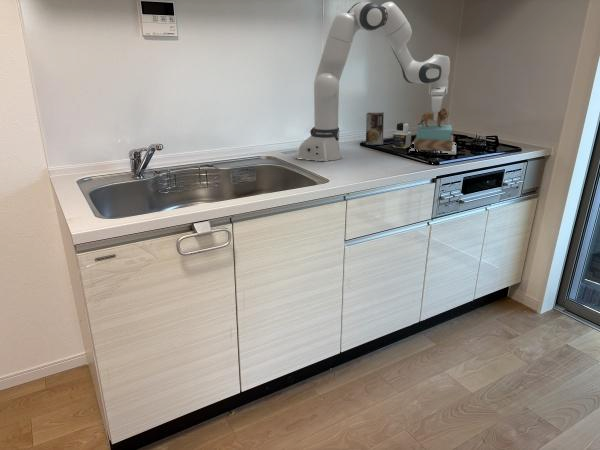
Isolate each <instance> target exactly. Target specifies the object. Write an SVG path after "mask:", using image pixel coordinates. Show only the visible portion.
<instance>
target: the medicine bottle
mask: <svg viewBox="0 0 600 450" xmlns="http://www.w3.org/2000/svg"><path fill="white" fill-rule="evenodd" d="M409 128H410V125H409V123H406V122H399V123H397V124H396V132H393V135H392V147H393V148H397V149H407V148H410V147H411V145H412V143H411V142H412V132H411V131H409V130H410V129H409Z"/></svg>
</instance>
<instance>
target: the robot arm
mask: <svg viewBox="0 0 600 450" xmlns="http://www.w3.org/2000/svg"><path fill="white" fill-rule="evenodd" d="M377 29H380V30H381V31H382V33H383V34H384V36H385V38H386V39H387V41H388V42H389V45H390V48H391V51H392V53H393V55H394V56H395V58H396V59H397V61H398V64H399V65H400V68H401V72H402V76H403V78H404V80H405V81H406V82H407V83H409V84H421V85H423V84H424V85H427V84H428V94H429V95H430V97H431V113H432V112H433V114H434V119H433V120H434V121H433V122H437V117H438V112H440V111H441V110H442V109H441V108H442V103H443V100H444V99H443V98H445V97H446V96H445V95H447V94H448V92H449V76H450V72H451V71H450V70H451V59H450V57H449V56H448V54H442V53H435V54H433V55H432V57H430V58H429V59H427V60H424V61H417V60H415V59H414V58H413V57H412V55H411V53H410V51H409V49H408V46H407V44H408V42H409V41H410V39H411V38H412V34H413V31H412V27H411V24H410V22H409V21H408V19H407V17H406V16H405V14H404V13H403V11H402V10H401V9H400V8H399V7H398V6H397V5H396V3H395V2H393V1H386V2H384V3H382V4H378V3H376V2H371V1H358V2H357V3H354V4H353V5H352V6H351V8H350V9H349V10H348V11H347V12H339V13H337V14H336V15H335V17H334V19H333V21H332V23H331V25H330V28H329V31H328V34H327V37H326V41H325V43H324V47H323V51H322V54H321V58H320V61H319V65H318V68H317V71H316V74H315V78H314V81H313V97H314V102H313V103H314V106H313V107H314V112H313V113H314V126H313V127H312V128H311V129H310V130H309V133H310V136H309V137H307V139H305V140H304V141H303V142H301V144H300V145H299V148H298V152H297V153H296V154H295V155H294V156H295V157H296V158H302V159H309V160H315V161H314V162H317V161H325V162H328V161H327V160H331V161H336V160H340V159H341V158H342V154H341V149H340V141H339V140H340V128H339V107H340V106H339V105H340V104H339V101H340V98H339V97H340V80H341V77H342V74H343V71H344V68H345V67H346V63H347V61H348V57H349V53H350V50H351V48H352V44H353V42H354V41H353V40H354V38H355V35H356V33H357V32H358V31H359V30H361V31H369V32H370V31H375V30H377Z"/></svg>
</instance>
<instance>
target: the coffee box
mask: <svg viewBox="0 0 600 450" xmlns="http://www.w3.org/2000/svg"><path fill="white" fill-rule="evenodd" d="M365 117H366V121H365V123H366V126H365V127H366V128H365V144H366V143H373V144H372V145H383V144H384V127H385V124H384V121H385V120H384V119H385V112H367V113H366V115H365Z"/></svg>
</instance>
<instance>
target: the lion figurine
mask: <svg viewBox="0 0 600 450" xmlns="http://www.w3.org/2000/svg"><path fill="white" fill-rule="evenodd" d="M449 116H450V109H449V108H446V107H444V108H442V109H440V112H438V117H437V121H436V122H437V124H436V125H437V126H439V127H441V126H440V125H442V121H443V122H444V121H446V119H447V118H448V117H449ZM433 119H434V113H432V112H425V113H424V114H423V115H422V116H421V119H420V122H419V123H418V124H417V126H419V125H420V124H421V125H426V127H429V126H428V125H429V124H428V122H429V120H430V121H433V122H435V121H434V120H433Z"/></svg>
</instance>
